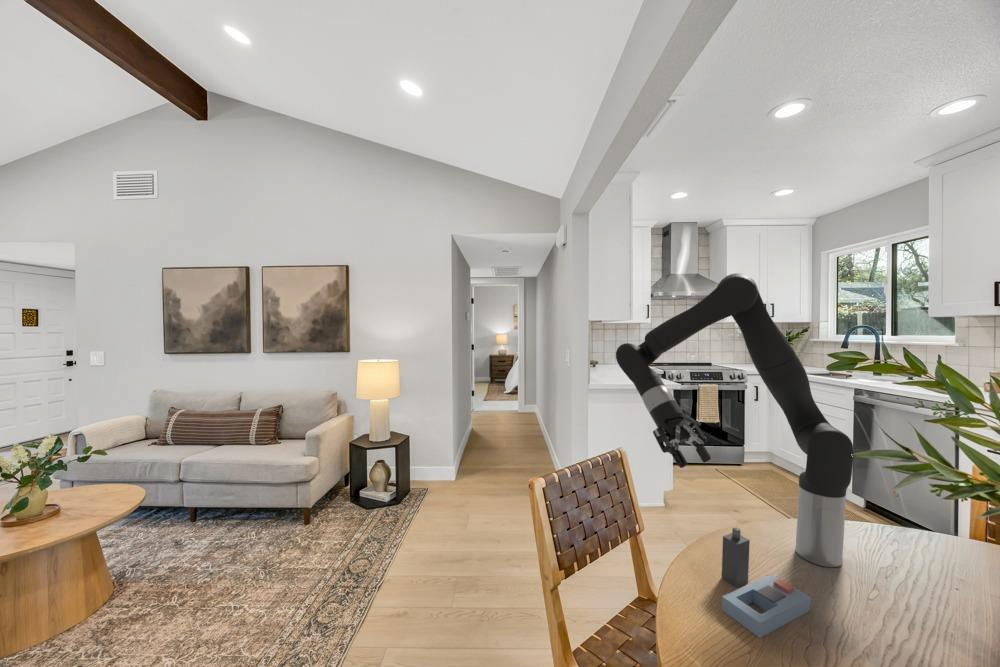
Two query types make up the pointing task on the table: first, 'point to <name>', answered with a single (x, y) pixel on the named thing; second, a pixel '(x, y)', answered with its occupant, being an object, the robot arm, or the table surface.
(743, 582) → the black plug
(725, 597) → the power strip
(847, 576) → the table surface
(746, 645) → the table surface
